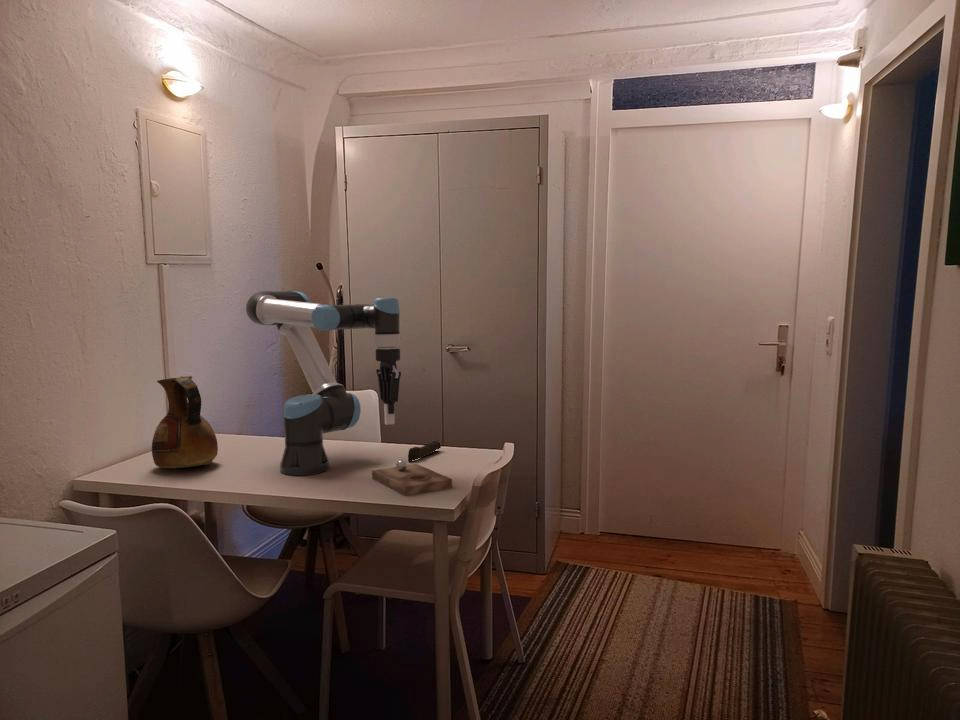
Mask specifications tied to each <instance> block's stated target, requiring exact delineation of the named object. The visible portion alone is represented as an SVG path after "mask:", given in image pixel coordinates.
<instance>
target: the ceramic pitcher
mask: <svg viewBox="0 0 960 720" xmlns="http://www.w3.org/2000/svg"><path fill="white" fill-rule="evenodd" d="M156 382H157V383H158V384H159V385H160V386H161V387H163V389H164V391H165V393H166V398H167V401H168V402H167V403H168V410H167V414H166V415H165V416H164V417H163V418H162V419H161V420H160V421H159V422H158V425H157V426H156V428H155V431H154V434H153V437H152V442H151V455H152V459H153V463H154V465H155V466H156V467H159V468H165V469H185V468H190V467H191V468H192V467H198V466H202V465H208V464H211V463H212V462H213V461H214V460H215V458H216V457H217V455H218V448H219V447H218V439H217V436H216V433H215V431H214V429H213V428H212V426H211V424H210V423H209V422H208V420H207V419H205V418H204V417H203V415H201V411H202V396H201V394H200V390H199V387H198V385H197V384H196V382H195V381H194V380H193V376H192V375H188V376H183V375H181V376H179V377H174V378H173V377H171V378H164V379H160V380H156Z"/></svg>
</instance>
